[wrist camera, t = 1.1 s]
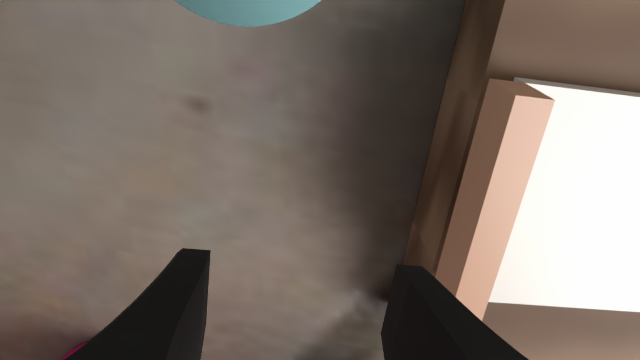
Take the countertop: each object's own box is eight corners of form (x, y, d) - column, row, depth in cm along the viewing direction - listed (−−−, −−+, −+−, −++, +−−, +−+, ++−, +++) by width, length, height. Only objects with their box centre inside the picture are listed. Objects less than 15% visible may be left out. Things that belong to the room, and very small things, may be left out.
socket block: (685, 323, 27) (739, 373, 24) (392, 304, 25) (409, 355, 22) (852, 10, 21) (954, 22, 18) (477, -49, 19) (518, -47, 16)
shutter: (633, 300, 22) (680, 347, 19) (423, 285, 21) (444, 333, 18) (726, 103, 18) (798, 129, 16) (480, 72, 17) (516, 95, 15)
